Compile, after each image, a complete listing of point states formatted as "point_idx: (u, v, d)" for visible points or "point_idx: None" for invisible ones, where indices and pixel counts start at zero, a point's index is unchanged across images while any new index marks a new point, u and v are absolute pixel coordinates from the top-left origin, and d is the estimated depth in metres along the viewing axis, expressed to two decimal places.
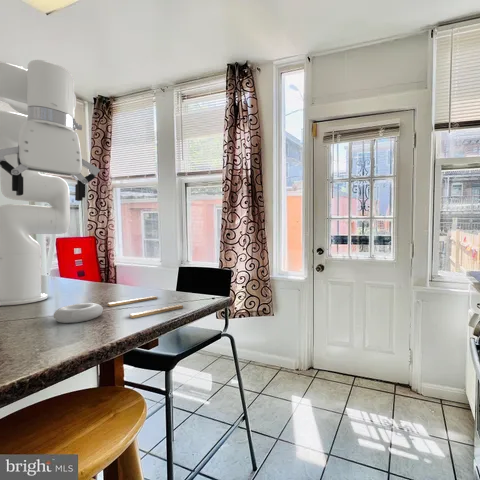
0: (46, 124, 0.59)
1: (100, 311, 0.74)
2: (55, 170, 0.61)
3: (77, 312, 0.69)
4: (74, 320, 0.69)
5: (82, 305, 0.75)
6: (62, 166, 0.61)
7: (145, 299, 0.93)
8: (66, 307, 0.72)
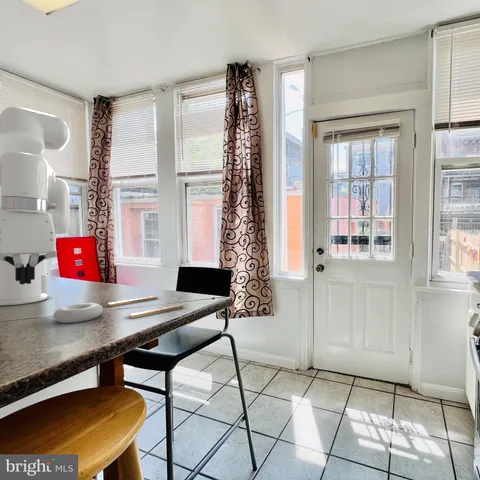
0: (19, 212, 0.62)
1: (100, 311, 0.74)
2: (28, 253, 0.64)
3: (77, 312, 0.69)
4: (74, 320, 0.69)
5: (82, 305, 0.75)
6: (35, 248, 0.64)
7: (145, 299, 0.93)
8: (66, 307, 0.72)
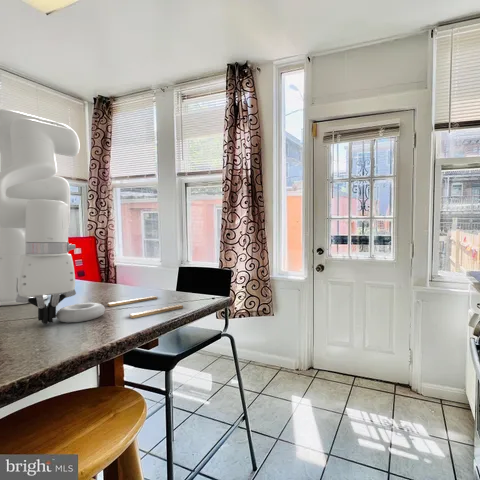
0: (42, 256, 0.65)
1: (102, 311, 0.75)
2: (50, 294, 0.67)
3: (80, 312, 0.70)
4: (77, 320, 0.69)
5: (84, 305, 0.75)
6: (57, 289, 0.68)
7: (145, 299, 0.93)
8: (68, 307, 0.72)
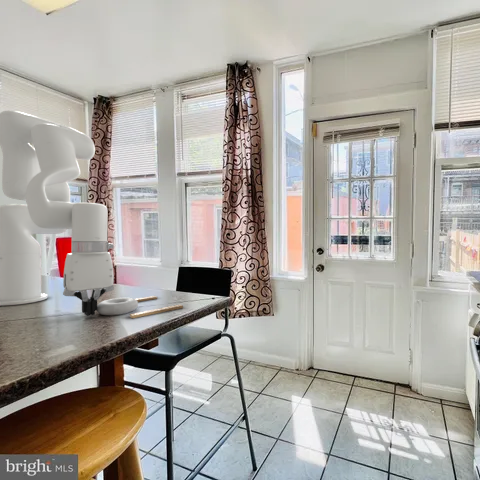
0: (86, 254, 0.72)
1: (136, 305, 0.81)
2: (93, 288, 0.74)
3: (118, 305, 0.77)
4: (116, 312, 0.76)
5: (119, 299, 0.82)
6: (98, 284, 0.74)
7: (145, 299, 0.93)
8: (106, 301, 0.79)
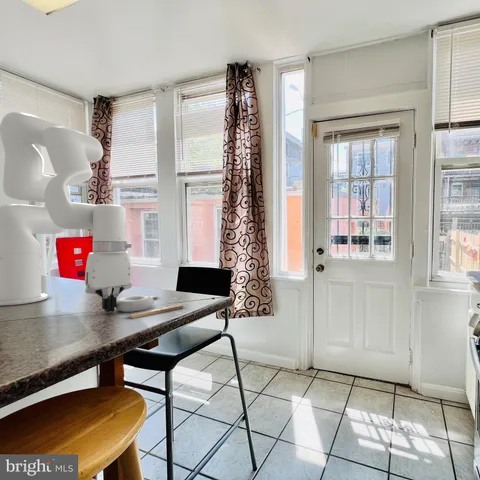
0: (107, 253, 0.75)
1: (153, 302, 0.85)
2: (113, 286, 0.77)
3: (136, 302, 0.80)
4: (134, 309, 0.80)
5: (136, 297, 0.86)
6: (118, 282, 0.78)
7: None
8: (124, 298, 0.83)
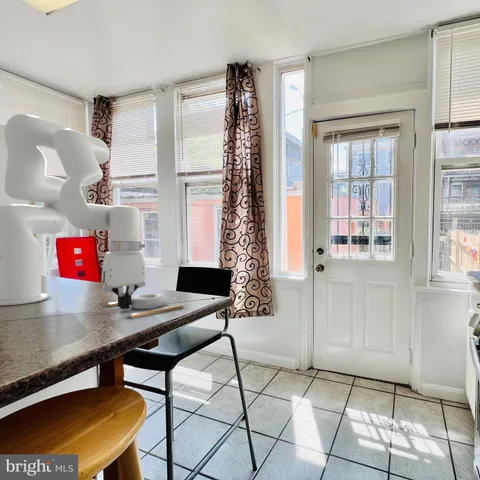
0: (123, 253, 0.78)
1: (165, 300, 0.88)
2: (128, 284, 0.80)
3: (150, 300, 0.83)
4: (148, 307, 0.83)
5: (149, 295, 0.89)
6: (133, 280, 0.81)
7: None
8: (138, 296, 0.86)
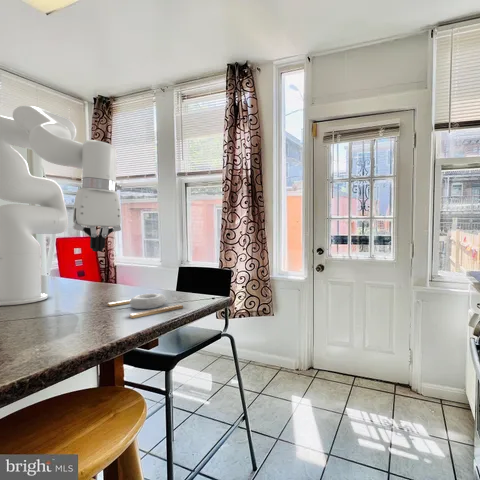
0: (96, 191, 0.74)
1: (165, 300, 0.88)
2: (101, 225, 0.76)
3: (150, 300, 0.83)
4: (148, 307, 0.83)
5: (149, 295, 0.89)
6: (107, 222, 0.77)
7: None
8: (138, 296, 0.86)
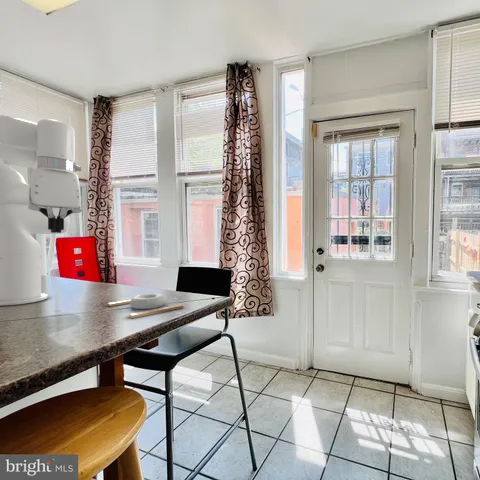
0: (52, 170, 0.73)
1: (165, 300, 0.88)
2: (59, 206, 0.75)
3: (150, 300, 0.83)
4: (148, 307, 0.83)
5: (149, 295, 0.89)
6: (65, 202, 0.76)
7: None
8: (138, 296, 0.86)
